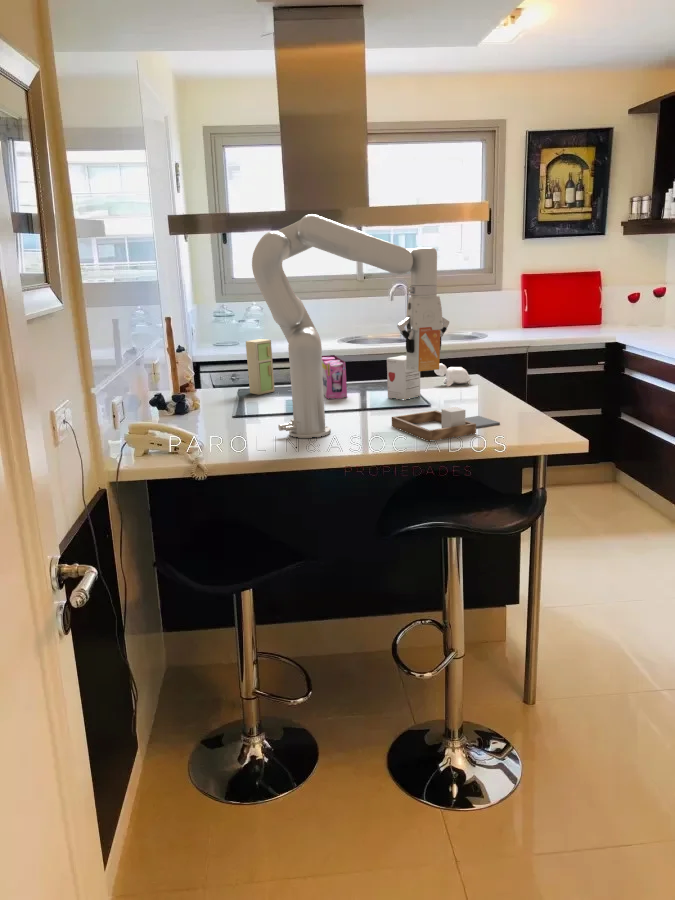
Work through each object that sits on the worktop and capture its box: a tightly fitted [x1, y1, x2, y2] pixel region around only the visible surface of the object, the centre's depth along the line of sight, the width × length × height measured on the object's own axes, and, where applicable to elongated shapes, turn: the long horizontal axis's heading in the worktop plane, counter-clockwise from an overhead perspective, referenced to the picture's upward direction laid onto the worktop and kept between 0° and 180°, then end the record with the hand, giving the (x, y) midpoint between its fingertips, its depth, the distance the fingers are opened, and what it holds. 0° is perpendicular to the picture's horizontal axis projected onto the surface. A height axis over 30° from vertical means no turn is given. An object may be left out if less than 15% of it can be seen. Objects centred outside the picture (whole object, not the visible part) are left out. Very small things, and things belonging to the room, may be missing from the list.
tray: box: [391, 409, 477, 442], centre depth 210 cm, size 16×22×3 cm
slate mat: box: [465, 415, 501, 429], centre depth 216 cm, size 11×11×1 cm
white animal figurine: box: [433, 362, 473, 387], centre depth 280 cm, size 8×8×15 cm
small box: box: [405, 326, 441, 372], centre depth 208 cm, size 8×6×13 cm
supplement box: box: [386, 355, 421, 401], centre depth 258 cm, size 9×9×15 cm
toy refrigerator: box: [245, 338, 276, 395], centre depth 279 cm, size 8×7×21 cm
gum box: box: [322, 354, 348, 400], centre depth 272 cm, size 24×8×14 cm, turn 11°
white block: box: [441, 406, 466, 428], centre depth 206 cm, size 5×5×7 cm
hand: (423, 351), depth 208 cm, fingers closed on small box, 8 cm apart
